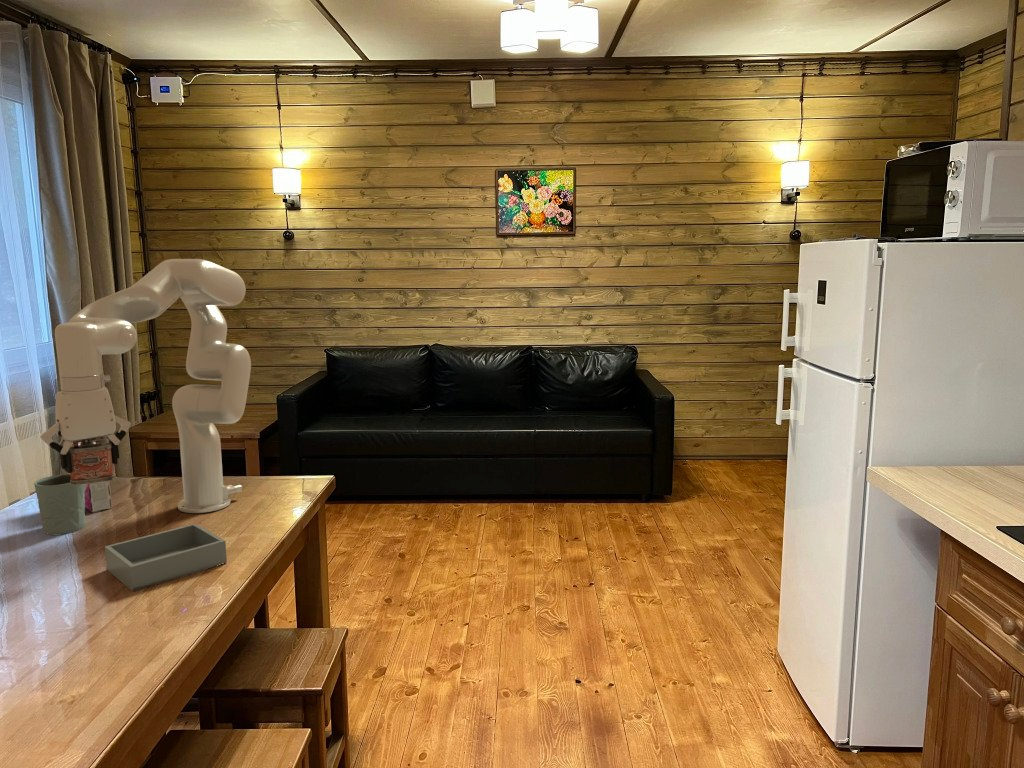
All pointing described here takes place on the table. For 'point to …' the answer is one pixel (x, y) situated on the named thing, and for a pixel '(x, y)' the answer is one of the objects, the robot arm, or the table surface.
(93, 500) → the candy bar box
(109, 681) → the table surface
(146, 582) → the bin
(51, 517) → the green plant pot
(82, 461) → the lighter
